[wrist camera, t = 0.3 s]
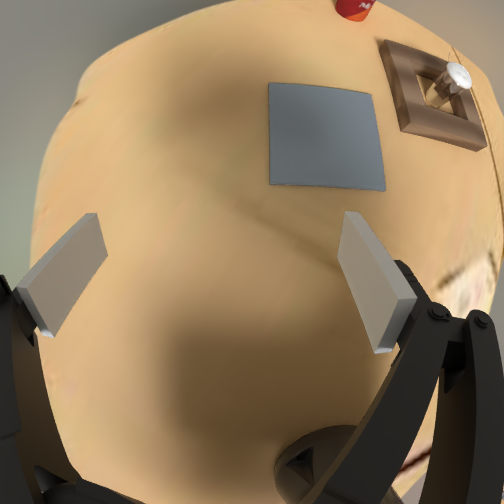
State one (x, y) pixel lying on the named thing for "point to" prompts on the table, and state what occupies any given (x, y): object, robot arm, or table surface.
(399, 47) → the pocket block
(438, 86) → the milkshake
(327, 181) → the mat
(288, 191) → the table surface
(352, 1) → the paper cup
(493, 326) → the robot arm
